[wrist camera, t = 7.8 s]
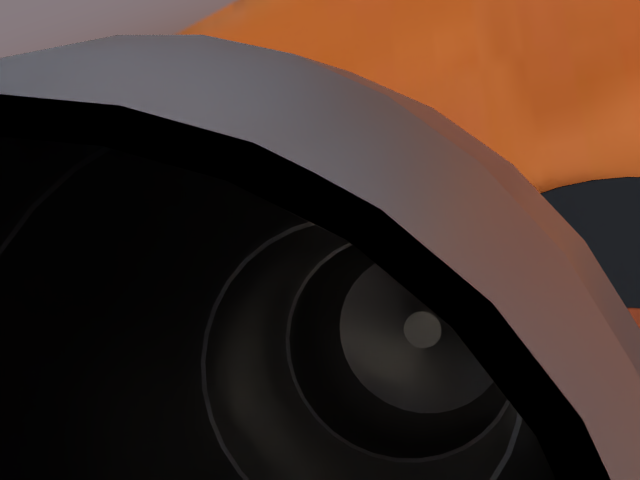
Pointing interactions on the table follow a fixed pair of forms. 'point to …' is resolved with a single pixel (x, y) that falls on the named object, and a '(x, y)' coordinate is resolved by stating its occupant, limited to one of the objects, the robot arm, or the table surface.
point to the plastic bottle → (286, 282)
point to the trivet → (607, 229)
